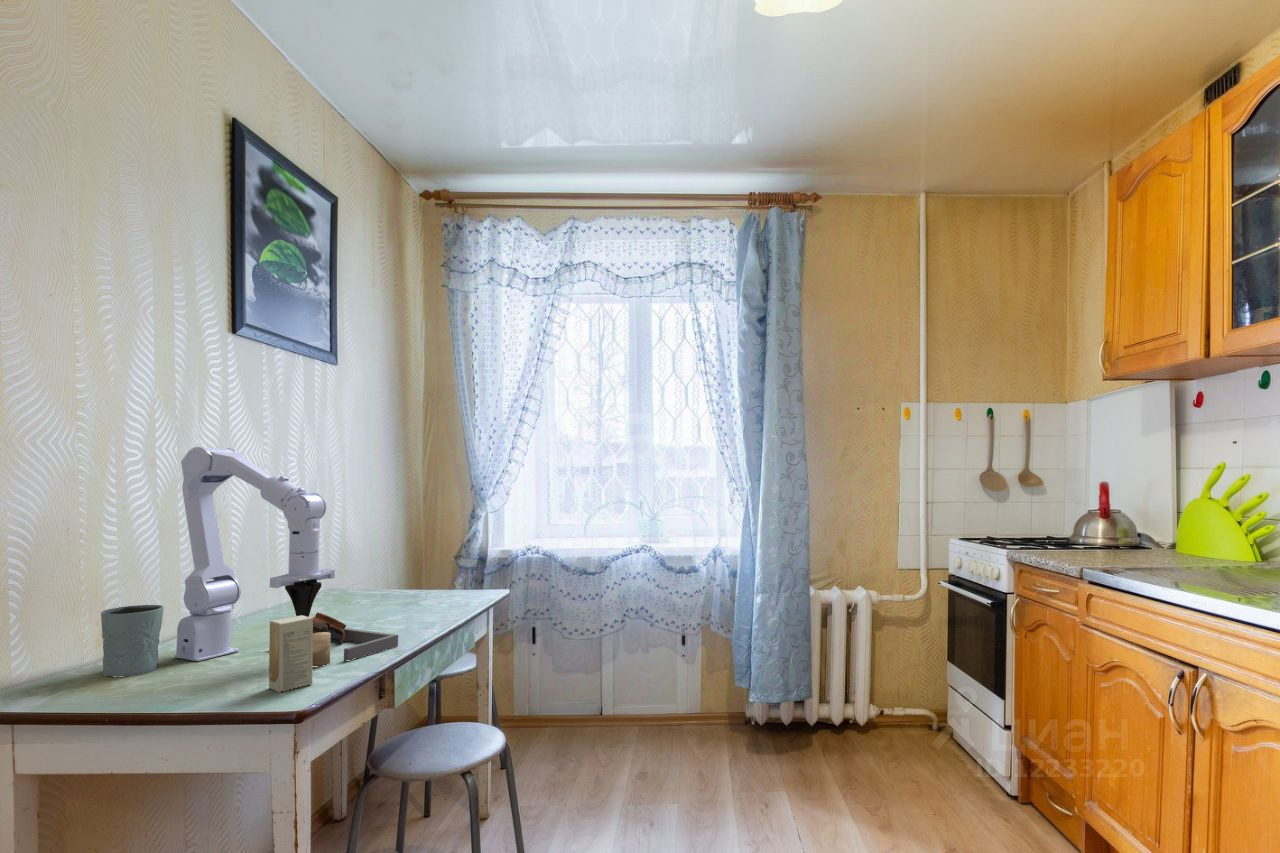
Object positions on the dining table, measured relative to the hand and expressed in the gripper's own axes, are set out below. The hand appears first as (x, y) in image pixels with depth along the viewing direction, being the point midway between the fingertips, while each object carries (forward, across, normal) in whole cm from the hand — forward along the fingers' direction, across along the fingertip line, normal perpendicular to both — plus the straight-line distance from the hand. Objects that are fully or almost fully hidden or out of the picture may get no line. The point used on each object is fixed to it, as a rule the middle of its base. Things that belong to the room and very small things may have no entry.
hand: (302, 618), depth 148 cm
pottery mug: (+9, +10, +7) cm, 15 cm away
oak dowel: (+9, -1, -6) cm, 10 cm away
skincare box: (+9, -14, -13) cm, 21 cm away
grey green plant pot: (+9, -20, +24) cm, 32 cm away
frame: (+9, +10, +2) cm, 14 cm away
